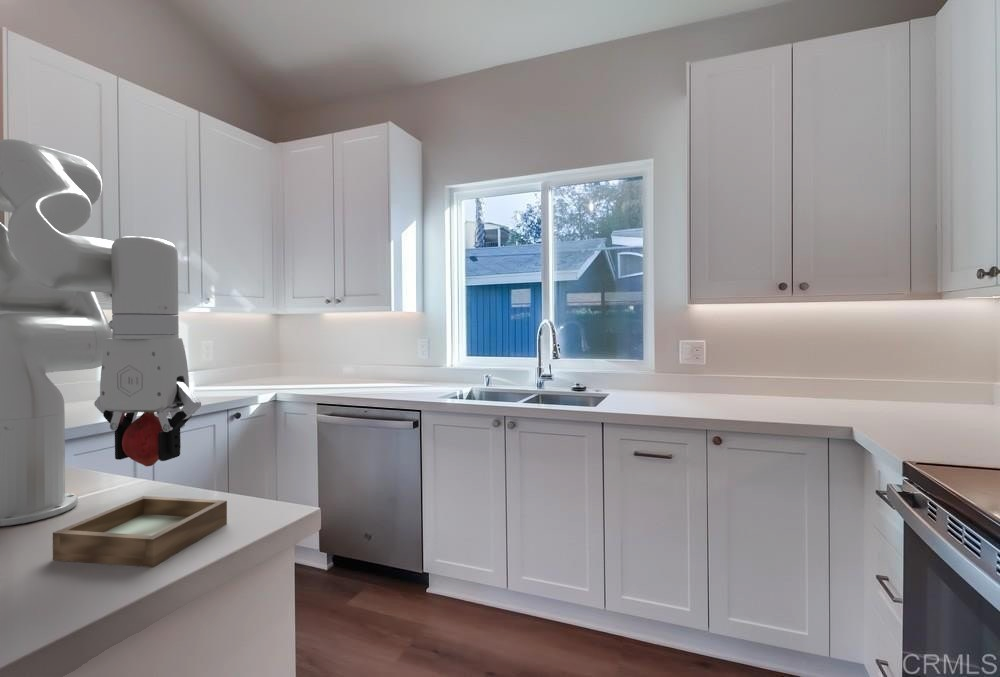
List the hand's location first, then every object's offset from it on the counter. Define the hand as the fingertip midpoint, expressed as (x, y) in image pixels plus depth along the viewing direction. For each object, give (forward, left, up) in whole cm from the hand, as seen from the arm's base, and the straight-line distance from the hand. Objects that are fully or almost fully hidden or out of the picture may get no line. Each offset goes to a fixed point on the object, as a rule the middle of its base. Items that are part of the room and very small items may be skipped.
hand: (148, 456), depth 70 cm
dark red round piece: (0, 0, -2) cm, 2 cm away
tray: (0, 0, -12) cm, 12 cm away
